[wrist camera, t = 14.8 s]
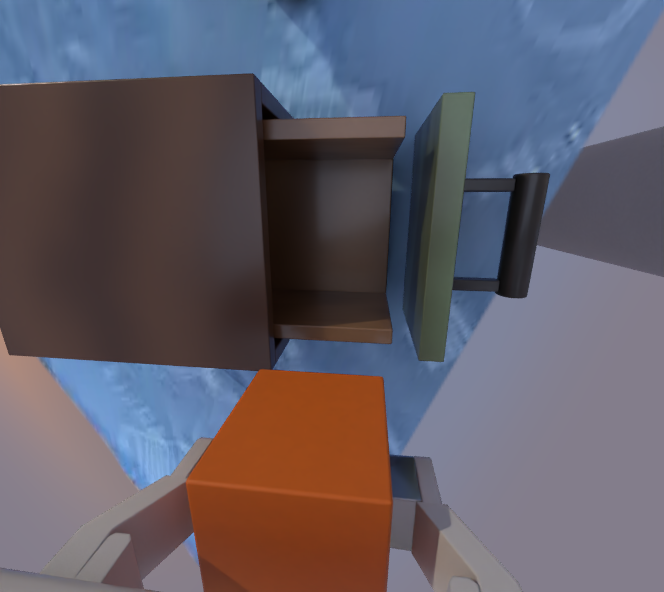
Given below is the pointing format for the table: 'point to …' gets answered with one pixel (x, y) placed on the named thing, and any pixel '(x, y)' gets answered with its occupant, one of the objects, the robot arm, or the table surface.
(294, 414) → the burnt orange cube
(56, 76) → the table surface
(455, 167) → the drawer
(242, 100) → the cabinet
